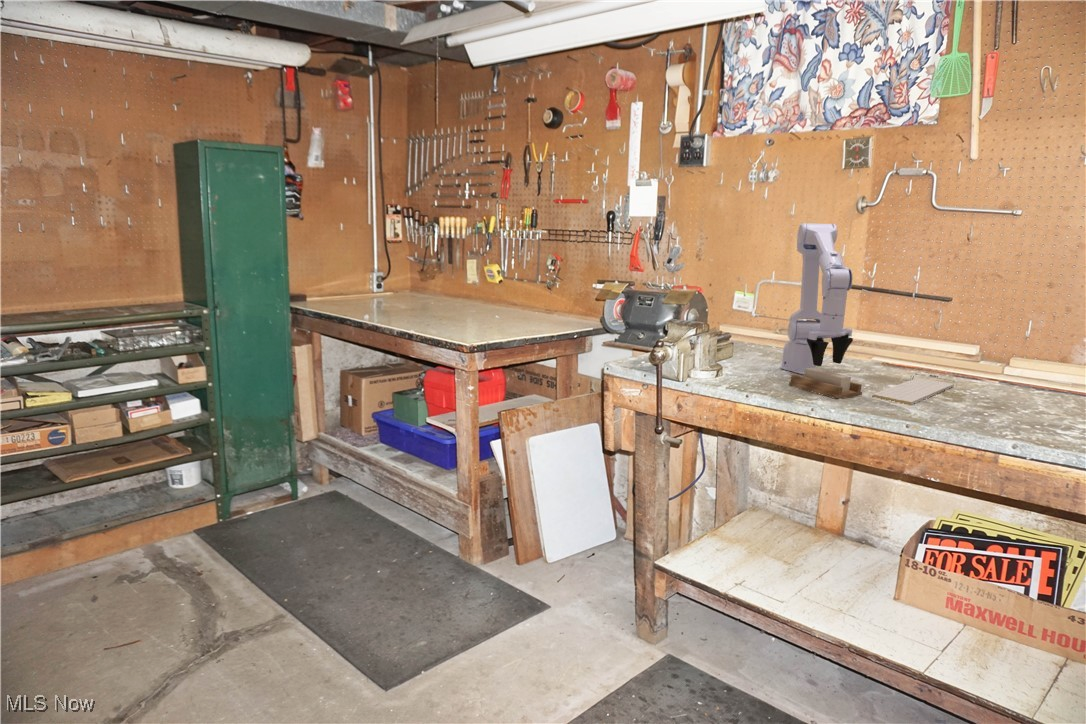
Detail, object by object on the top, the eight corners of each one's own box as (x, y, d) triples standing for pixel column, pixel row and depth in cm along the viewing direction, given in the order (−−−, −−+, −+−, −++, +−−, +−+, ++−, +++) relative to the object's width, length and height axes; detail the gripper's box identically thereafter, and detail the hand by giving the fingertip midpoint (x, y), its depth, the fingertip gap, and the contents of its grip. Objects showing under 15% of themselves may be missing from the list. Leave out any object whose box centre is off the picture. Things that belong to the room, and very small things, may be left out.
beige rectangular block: (803, 382, 190) (804, 368, 189) (812, 381, 192) (813, 367, 191) (839, 392, 180) (841, 378, 179) (849, 391, 182) (850, 376, 181)
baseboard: (862, 397, 182) (910, 407, 173) (864, 387, 181) (912, 396, 173) (908, 380, 202) (953, 389, 194) (910, 371, 202) (955, 379, 193)
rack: (788, 385, 191) (790, 374, 190) (812, 381, 195) (813, 371, 195) (837, 399, 177) (838, 388, 177) (861, 395, 182) (862, 384, 181)
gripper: (826, 317, 175) (820, 369, 178) (864, 314, 182) (858, 364, 185) (804, 314, 181) (799, 364, 184) (841, 311, 188) (836, 359, 191)
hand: (827, 364), depth 185 cm, fingers open, 7 cm apart
